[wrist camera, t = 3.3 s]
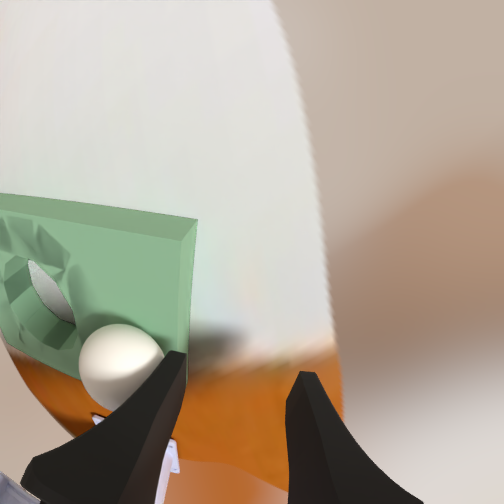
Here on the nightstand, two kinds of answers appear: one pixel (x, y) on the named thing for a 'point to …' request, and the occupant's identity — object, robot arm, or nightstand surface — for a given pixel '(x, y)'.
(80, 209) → the green
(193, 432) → the nightstand surface
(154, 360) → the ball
